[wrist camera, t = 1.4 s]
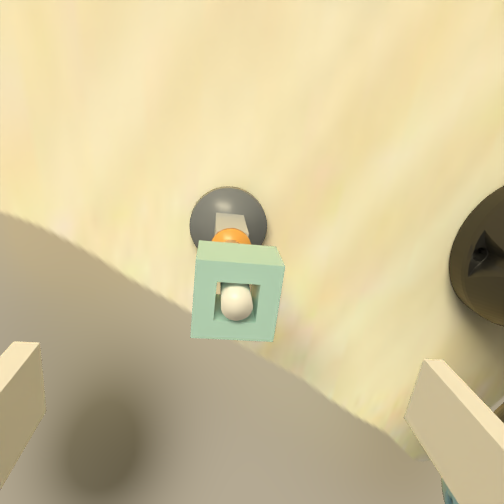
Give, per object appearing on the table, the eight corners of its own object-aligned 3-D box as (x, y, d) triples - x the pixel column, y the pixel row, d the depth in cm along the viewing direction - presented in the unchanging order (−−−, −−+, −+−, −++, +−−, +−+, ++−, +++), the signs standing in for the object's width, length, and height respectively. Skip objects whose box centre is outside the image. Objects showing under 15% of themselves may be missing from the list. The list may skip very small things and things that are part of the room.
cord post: (269, 190, 31) (314, 248, 17) (260, 261, 34) (292, 365, 19) (192, 182, 31) (170, 236, 16) (188, 255, 33) (165, 360, 18)
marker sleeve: (275, 246, 20) (285, 266, 18) (265, 313, 22) (273, 341, 19) (198, 240, 20) (195, 259, 17) (194, 309, 21) (190, 337, 18)
